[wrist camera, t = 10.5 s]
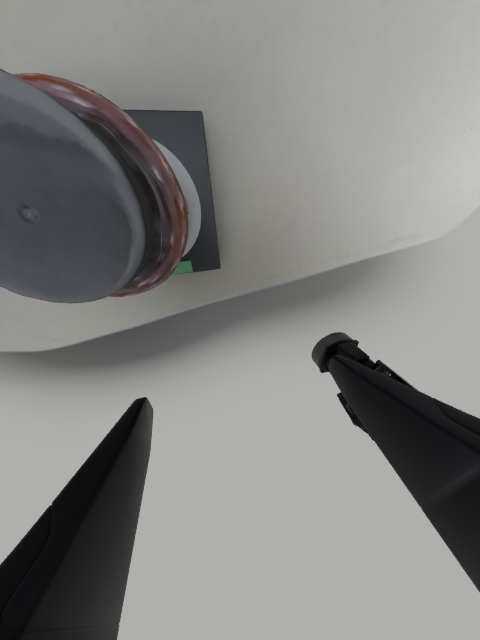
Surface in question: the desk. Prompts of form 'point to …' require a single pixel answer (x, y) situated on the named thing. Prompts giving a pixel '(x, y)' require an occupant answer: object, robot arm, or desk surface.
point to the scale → (187, 179)
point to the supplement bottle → (82, 196)
